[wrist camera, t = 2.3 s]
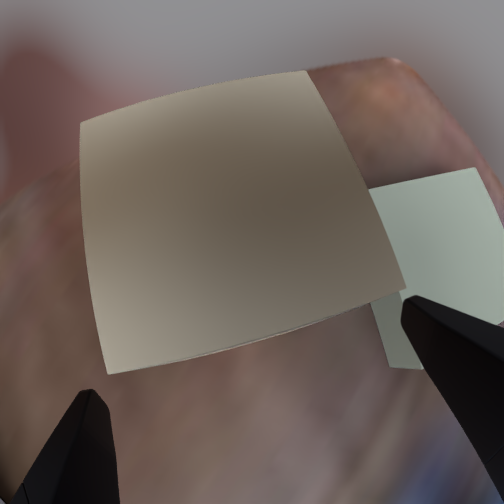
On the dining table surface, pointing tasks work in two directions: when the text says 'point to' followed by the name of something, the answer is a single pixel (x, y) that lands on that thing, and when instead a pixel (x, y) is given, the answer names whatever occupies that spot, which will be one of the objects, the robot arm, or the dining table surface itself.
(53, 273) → the dining table surface
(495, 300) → the sage base block
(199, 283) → the birch pillar
